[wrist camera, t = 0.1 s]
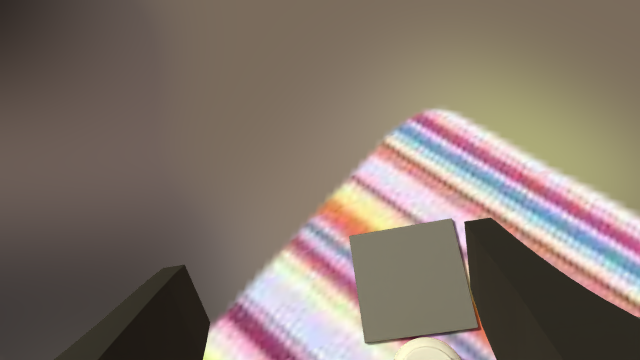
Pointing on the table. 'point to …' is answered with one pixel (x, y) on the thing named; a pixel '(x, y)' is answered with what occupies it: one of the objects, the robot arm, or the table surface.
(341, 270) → the table surface
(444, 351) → the supplement bottle
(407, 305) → the mat
